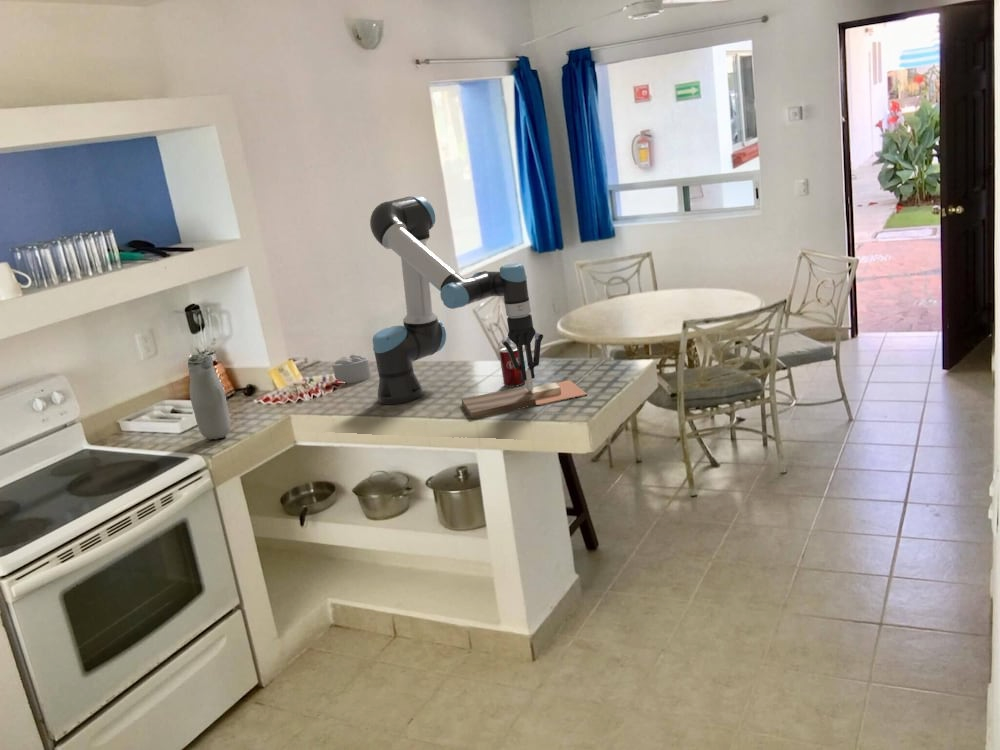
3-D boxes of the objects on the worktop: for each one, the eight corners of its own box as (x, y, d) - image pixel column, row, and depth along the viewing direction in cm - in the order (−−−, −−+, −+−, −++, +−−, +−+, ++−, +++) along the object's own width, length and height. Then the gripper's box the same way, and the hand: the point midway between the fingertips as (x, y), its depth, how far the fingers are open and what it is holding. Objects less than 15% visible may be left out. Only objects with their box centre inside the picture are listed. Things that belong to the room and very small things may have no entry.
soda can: (499, 385, 296) (494, 350, 292) (516, 379, 300) (511, 345, 296) (513, 388, 290) (507, 353, 287) (530, 382, 294) (525, 347, 291)
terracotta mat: (522, 391, 285) (522, 389, 285) (569, 381, 288) (569, 379, 288) (537, 406, 268) (536, 404, 268) (587, 395, 271) (587, 393, 271)
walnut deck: (462, 405, 281) (461, 399, 280) (523, 392, 284) (522, 386, 284) (471, 419, 266) (470, 412, 265) (536, 405, 269) (535, 399, 269)
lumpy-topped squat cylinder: (344, 376, 340) (339, 354, 338) (375, 373, 337) (371, 351, 334) (333, 384, 330) (328, 362, 328) (365, 382, 327) (361, 359, 325)
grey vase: (196, 444, 282) (174, 360, 275) (212, 433, 292) (191, 351, 285) (224, 442, 280) (203, 357, 273) (239, 431, 290) (219, 348, 283)
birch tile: (533, 399, 274) (532, 393, 273) (528, 394, 279) (527, 388, 279) (561, 393, 275) (560, 387, 275) (555, 388, 281) (555, 382, 280)
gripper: (500, 321, 265) (512, 396, 271) (542, 313, 267) (553, 387, 273) (495, 317, 272) (507, 390, 278) (536, 309, 274) (546, 382, 281)
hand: (529, 389), depth 276 cm, fingers closed
